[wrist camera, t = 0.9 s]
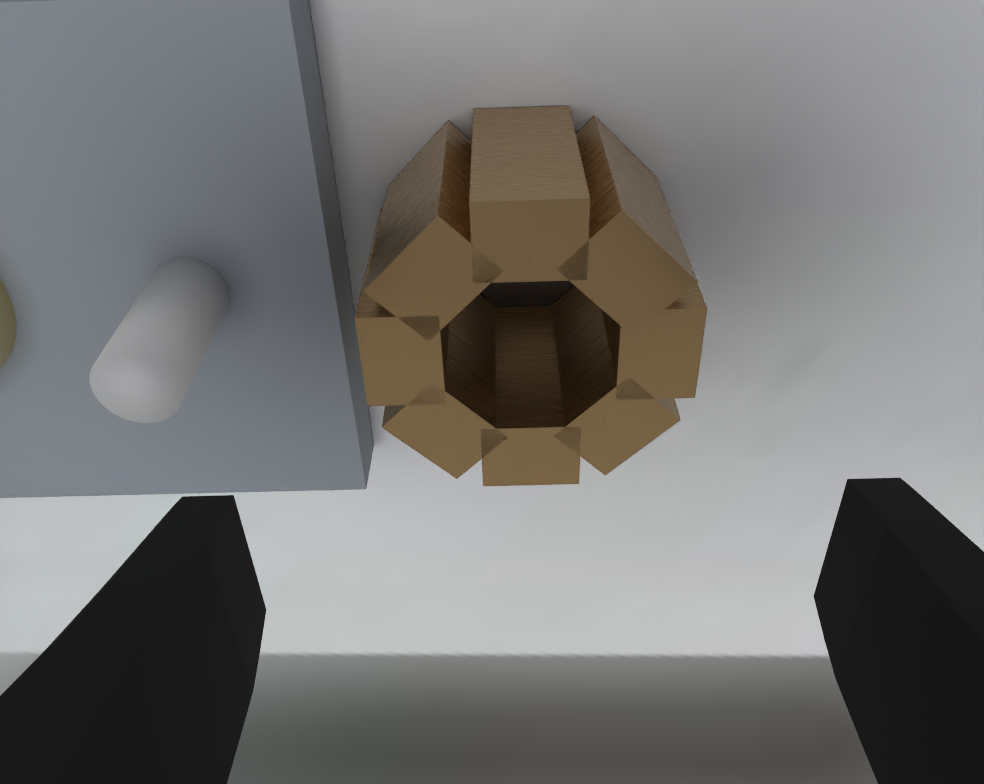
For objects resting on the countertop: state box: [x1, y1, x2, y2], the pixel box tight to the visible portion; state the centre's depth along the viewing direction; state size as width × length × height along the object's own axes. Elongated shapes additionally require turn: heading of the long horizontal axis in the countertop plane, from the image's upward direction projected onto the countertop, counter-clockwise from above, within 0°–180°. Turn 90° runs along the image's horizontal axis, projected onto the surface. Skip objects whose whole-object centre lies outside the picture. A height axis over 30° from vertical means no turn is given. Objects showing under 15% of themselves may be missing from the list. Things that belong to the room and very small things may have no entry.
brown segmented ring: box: [355, 106, 707, 486], centre depth 15 cm, size 5×5×4 cm
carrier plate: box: [0, 0, 374, 498], centre depth 15 cm, size 10×10×5 cm
